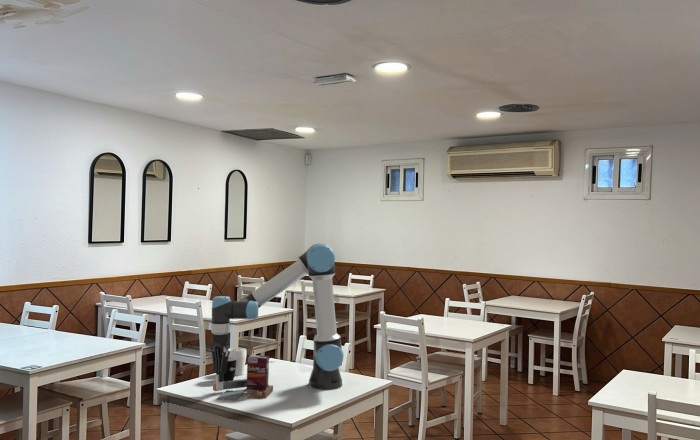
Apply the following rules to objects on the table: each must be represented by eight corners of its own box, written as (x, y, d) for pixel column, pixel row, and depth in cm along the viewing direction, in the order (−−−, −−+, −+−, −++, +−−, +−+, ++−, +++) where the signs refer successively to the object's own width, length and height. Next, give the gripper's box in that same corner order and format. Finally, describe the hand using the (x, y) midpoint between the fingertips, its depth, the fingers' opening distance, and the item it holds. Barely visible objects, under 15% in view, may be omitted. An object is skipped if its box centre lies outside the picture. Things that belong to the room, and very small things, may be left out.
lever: (256, 388, 248) (256, 377, 248) (214, 393, 239) (215, 382, 239) (254, 386, 251) (254, 376, 251) (212, 391, 242) (212, 380, 242)
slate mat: (244, 392, 243) (244, 391, 243) (235, 400, 231) (235, 399, 231) (226, 391, 244) (226, 390, 244) (216, 399, 232) (216, 398, 233)
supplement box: (245, 394, 240) (246, 357, 240) (248, 391, 244) (249, 354, 245) (265, 395, 239) (266, 358, 239) (268, 392, 244) (269, 355, 244)
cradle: (274, 389, 250) (275, 383, 250) (265, 398, 235) (265, 392, 235) (248, 387, 251) (248, 382, 251) (237, 396, 236) (237, 391, 236)
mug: (229, 384, 256) (230, 361, 256) (212, 382, 258) (212, 360, 259) (242, 378, 267) (242, 356, 268) (225, 376, 270) (225, 354, 270)
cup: (243, 376, 270) (244, 351, 270) (225, 376, 270) (225, 350, 270) (247, 372, 279) (248, 347, 279) (229, 371, 279) (230, 347, 279)
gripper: (235, 334, 237) (234, 391, 237) (221, 330, 247) (220, 384, 247) (219, 336, 233) (218, 394, 232) (205, 331, 243) (204, 387, 242)
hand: (219, 389), depth 239 cm, fingers closed
